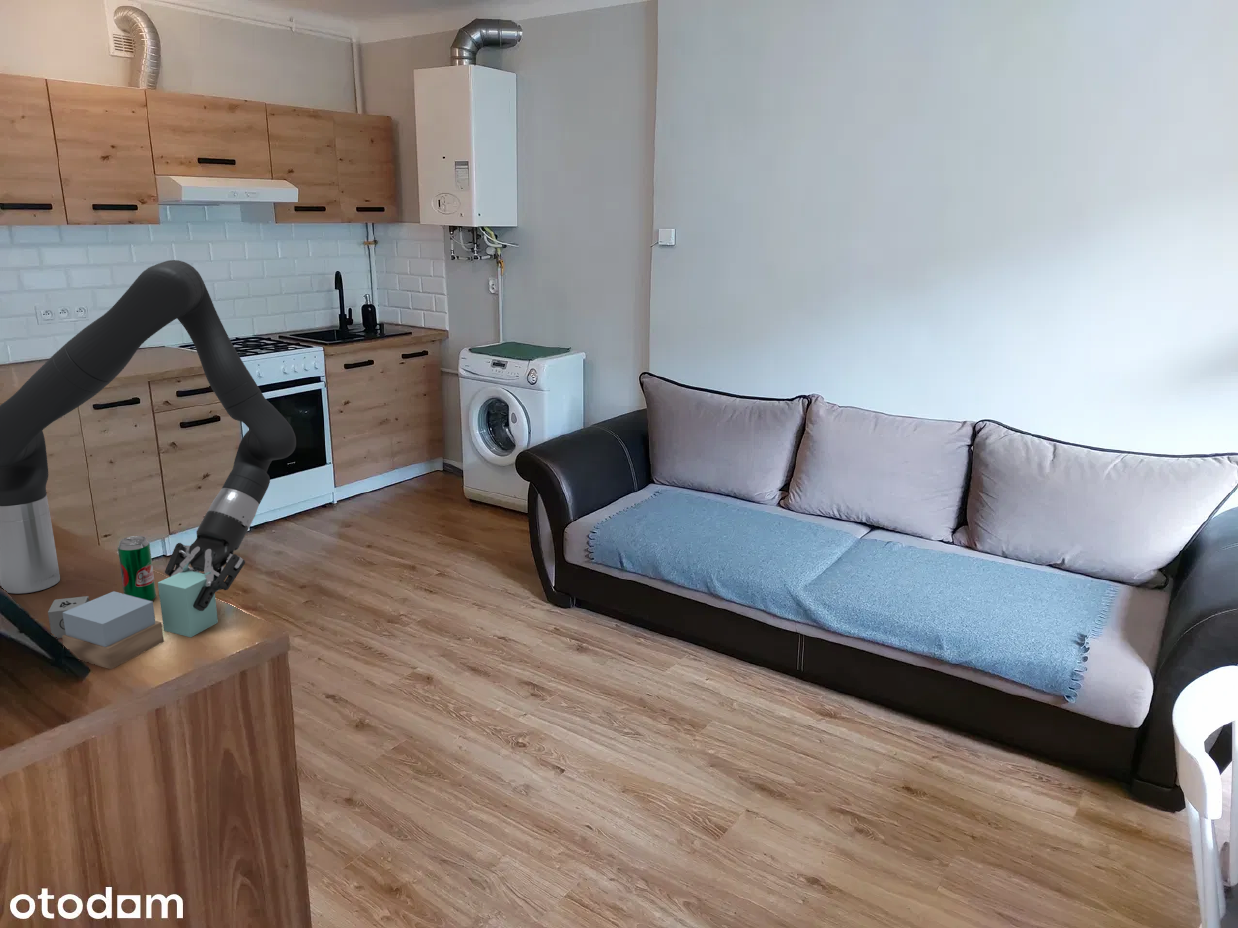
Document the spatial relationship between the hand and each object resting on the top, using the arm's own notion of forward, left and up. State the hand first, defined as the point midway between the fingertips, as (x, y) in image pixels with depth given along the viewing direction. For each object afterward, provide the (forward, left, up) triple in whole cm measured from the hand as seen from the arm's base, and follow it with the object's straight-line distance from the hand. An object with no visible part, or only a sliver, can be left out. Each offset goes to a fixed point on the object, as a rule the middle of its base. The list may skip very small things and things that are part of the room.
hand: (182, 605), depth 146 cm
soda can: (-16, +5, -5) cm, 18 cm away
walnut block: (-5, -10, -5) cm, 12 cm away
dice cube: (-17, -8, -5) cm, 19 cm away
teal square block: (0, +1, -5) cm, 5 cm away
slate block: (-5, -10, -1) cm, 11 cm away
